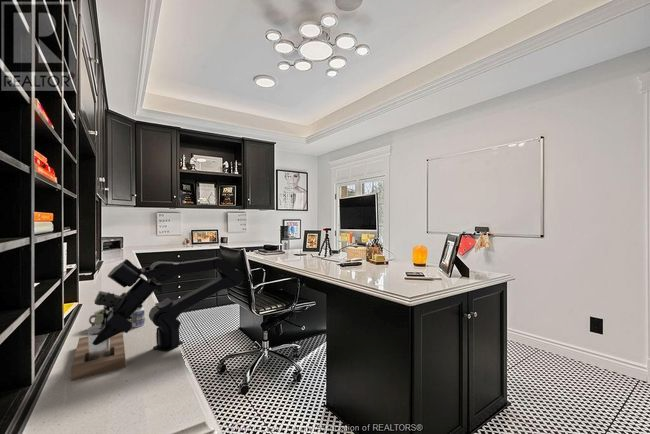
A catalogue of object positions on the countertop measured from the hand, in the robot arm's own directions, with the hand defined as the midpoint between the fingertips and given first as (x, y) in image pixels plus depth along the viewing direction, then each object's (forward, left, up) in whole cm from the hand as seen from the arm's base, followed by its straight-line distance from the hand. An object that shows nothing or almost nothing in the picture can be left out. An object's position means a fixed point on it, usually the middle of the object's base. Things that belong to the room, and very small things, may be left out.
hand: (93, 341), depth 89 cm
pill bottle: (+18, -29, -7) cm, 35 cm away
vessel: (+29, -25, -7) cm, 39 cm away
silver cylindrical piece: (-1, -1, -7) cm, 7 cm away
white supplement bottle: (+23, -35, -7) cm, 42 cm away
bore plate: (+5, -5, -7) cm, 10 cm away
